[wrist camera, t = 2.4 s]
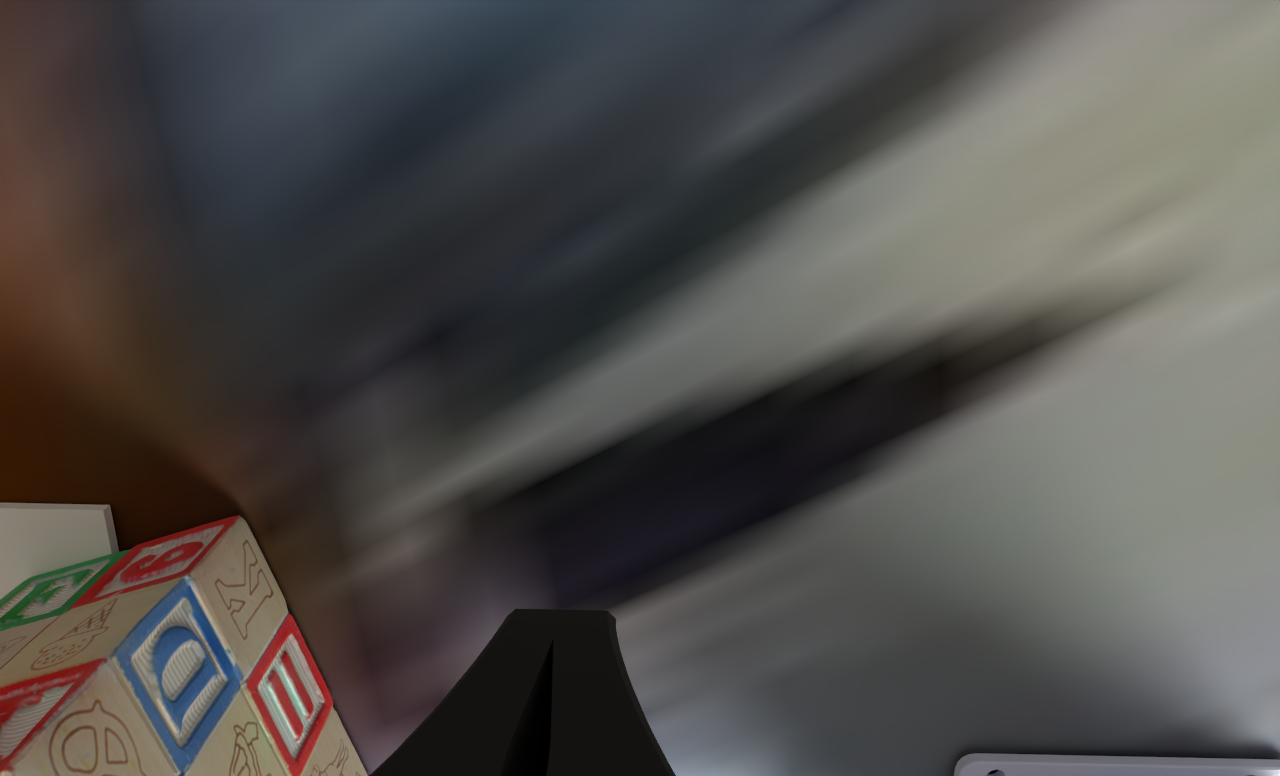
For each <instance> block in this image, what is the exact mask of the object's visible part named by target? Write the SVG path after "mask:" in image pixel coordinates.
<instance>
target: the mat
mask: <svg viewBox="0 0 1280 776" xmlns="http://www.w3.org/2000/svg"><path fill="white" fill-rule="evenodd" d="M117 552H119V548H118V543H117V538H116V533H115V528H114V523H113V518H112V512H111V507H110V505H92V504H44V503H0V599H2V598H3V597H4V596H5V595H7V594H8V593H9V592H10V591H12V590H13V589H14V588H15V587H17V586H18V585H19V584H21V583H22V582H23V581H25V580H27V579H28V578H30V577H33V576H36V575H40V574H43V573H47V572H50V571H54V570H57V569H61V568H64V567H68V566H71V565H75V564H78V563H82V562H85V561H89V560H92V559H95V558H99V557H102V556H106V555H109V554H113V553H117Z"/></svg>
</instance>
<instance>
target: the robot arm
mask: <svg viewBox="0 0 1280 776" xmlns="http://www.w3.org/2000/svg"><path fill="white" fill-rule="evenodd" d="M992 770H998V771H997V772H995V773H994V774H988V773H989V772H991V771H992ZM370 776H676V775H675V774H674V772H673V770H672V768H671V767H670V765H669V763H668V761H667V759H666V757H665V755H664V754H663V752H662V750H661V748H660V746H659V744H658V742H657V740H656V738H655V736H654V734H653V732H652V730H651V728H650V726H649V724H648V722H647V720H646V718H645V715H644V713H643V711H642V708H641V706H640V704H639V701H638V699H637V696H636V694H635V692H634V689H633V687H632V684H631V682H630V679H629V676H628V674H627V671H626V667H625V664H624V661H623V658H622V655H621V651H620V647H619V643H618V638H617V632H616V619H615V618H614V617H613V616H612V615H611V614H610V613H609V612H608V611H592V610H544V609H515V610H514V611H513V612H512V613H510V614H509V615H508V616H507V617H506V619H505V620H504V622H503V623H502V625H501V626H500V628H499V629H498V631H497V632H496V633H495V635H494V636H493V638H492V639H491V640H490V642H489V643H488V644H487V646H486V647H485V648H484V650H483V651H482V652H481V654H480V655H479V656H478V658H477V659H476V660H475V661H474V663H473V664H472V665H471V667H470V668H469V669H468V670H467V672H466V673H465V674H464V675H463V676H462V678H461V679H460V680H459V681H458V682H457V684H456V685H455V686H454V687H453V688H452V690H451V691H450V692H449V693H448V694H447V696H446V697H445V698H444V699H443V700H442V701H441V703H440V704H439V705H438V706H437V707H436V708H435V709H434V711H433V712H432V713H431V714H430V715H429V716H428V717H427V718H426V719H425V720H424V721H423V722H422V723H421V724H420V725H419V727H418V728H417V729H416V730H415V731H414V732H413V733H412V734H411V735H410V736H409V737H408V738H407V739H406V740H405V741H404V742H403V743H402V744H401V745H400V747H399V748H398V749H397V750H396V751H395V752H394V753H393V754H392V755H391V756H390V757H389V758H388V759H386V760H385V761H384V762H383V763H382V764H381V765H380V766H379V767H378V768H377V769H376V770H375V771H374V772H373V773H372V774H371V775H370ZM954 776H1280V760H1273V759H1225V758H1178V757H1130V756H1082V755H1035V754H987V753H974V754H968V755H966V756H964V757H962V758H961V759H960V760H959V761H958V762H957V764H956V767H955V772H954Z"/></svg>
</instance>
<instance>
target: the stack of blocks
mask: <svg viewBox="0 0 1280 776" xmlns="http://www.w3.org/2000/svg"><path fill="white" fill-rule="evenodd" d="M0 776H368V774H367V772H366V771H365V769H364V767H363V765H362V763H361V761H360V759H359V757H358V754H357V752H356V750H355V748H354V747H353V745H352V743H351V741H350V739H349V737H348V735H347V733H346V731H345V729H344V727H343V725H342V723H341V721H340V718H339V716H338V714H337V712H336V711H335V710H334V708H333V700H332V697H331V695H330V692H329V690H328V688H327V686H326V684H325V682H324V680H323V678H322V676H321V674H320V672H319V669H318V667H317V665H316V663H315V661H314V659H313V657H312V655H311V653H310V652H309V650H308V648H307V646H306V644H305V641H304V639H303V637H302V635H301V633H300V631H299V629H298V627H297V625H296V623H295V621H294V619H293V617H292V615H291V614H290V613H289V612H288V609H287V605H286V601H285V599H284V597H283V595H282V592H281V590H280V588H279V586H278V584H277V582H276V580H275V578H274V576H273V574H272V572H271V570H270V568H269V566H268V564H267V562H266V560H265V558H264V556H263V554H262V552H261V550H260V548H259V546H258V544H257V542H256V540H255V538H254V536H253V534H252V532H251V530H250V528H249V526H248V524H247V522H246V521H245V520H244V519H243V518H242V517H241V516H240V515H237V516H232V517H228V518H225V519H222V520H218V521H215V522H211V523H208V524H204V525H200V526H197V527H194V528H191V529H188V530H184V531H181V532H177V533H174V534H171V535H167V536H164V537H161V538H157V539H154V540H151V541H148V542H145V543H141V544H138V545H136V546H135V547H133V548H132V549H130V550H125V551H121V552H117V553H113V554H109V555H106V556H102V557H99V558H95V559H92V560H89V561H85V562H82V563H78V564H75V565H71V566H68V567H64V568H61V569H57V570H54V571H50V572H47V573H43V574H40V575H36V576H33V577H30V578H28V579H27V580H25V581H23V582H22V583H21V584H19V585H18V586H17V587H15V588H14V589H13V590H12V591H10V592H9V593H8V594H7V595H5V596H4V597H3V598H2V599H0Z"/></svg>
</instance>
